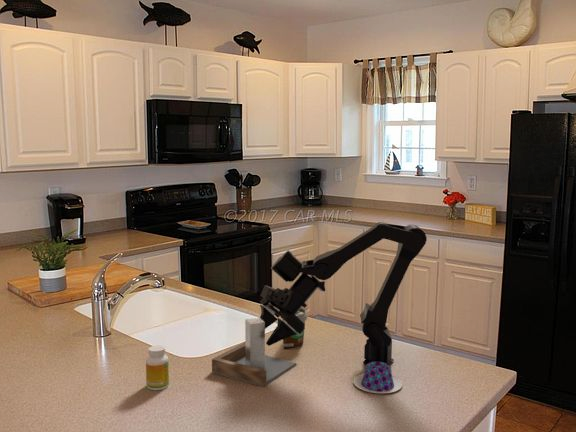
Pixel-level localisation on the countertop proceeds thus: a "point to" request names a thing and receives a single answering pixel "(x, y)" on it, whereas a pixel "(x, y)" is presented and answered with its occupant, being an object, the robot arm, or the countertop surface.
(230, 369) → the corner walls
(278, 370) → the corner mat
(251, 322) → the aluminium post
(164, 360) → the supplement bottle
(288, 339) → the food container
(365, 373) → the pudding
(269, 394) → the countertop surface
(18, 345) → the countertop surface
